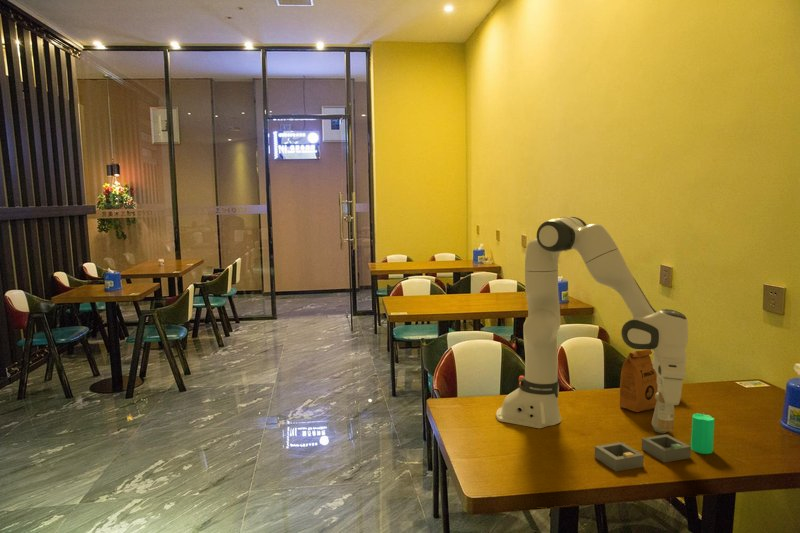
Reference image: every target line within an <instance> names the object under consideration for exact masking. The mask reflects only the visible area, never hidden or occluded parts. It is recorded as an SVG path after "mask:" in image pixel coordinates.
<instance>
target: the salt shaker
mask: <svg viewBox="0 0 800 533" xmlns="http://www.w3.org/2000/svg"><path fill="white" fill-rule="evenodd" d="M658 395H659V392H657V393H656V394H655V399H656V400H657V403H656V407H655V408H654V411H653V415H652V420H651V425H652V428H653V430H654V432H656V433H658V434H666V433H668V432H669V431H663V430H660V429H659V428H658V427H657V426H658Z"/></svg>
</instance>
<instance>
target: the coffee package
mask: <svg viewBox="0 0 800 533" xmlns="http://www.w3.org/2000/svg"><path fill="white" fill-rule="evenodd" d="M652 353H653V352H652V349H640V350H635V351H632V352H629V354H628V355H627V357H626V358H625V360H624V362H623V364H622V366H621V372H620V380H619V381H620V382H619V408H620V409H625V410H629V411H631V412H635V413H638V412H643V411H650V410H653V409H655V407H656V403H657V400H656V399H655V394H656V393H657V387H658V385H657V374H656V371H655V370H654V369H653V364H652V358H651V356H650V355H652Z"/></svg>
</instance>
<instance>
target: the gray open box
mask: <svg viewBox="0 0 800 533" xmlns="http://www.w3.org/2000/svg"><path fill="white" fill-rule="evenodd" d="M644 457H645V455H644V454H643V453H641V452H640V451H637V449H634V448H633V447H631V446H629V445H627V444H626V443H624V442H622V441H620V442H619V441H618V442H614V443H613V442H612V443H607V444H601V445H594V458H595V459H596V460H598V461H599V462H601V463H602V464H603V465H605V466H607V467H608V468H610V469H612V470H613V471H614V472H621V471H626V470H633V469H637V468H644V460H645V459H644Z"/></svg>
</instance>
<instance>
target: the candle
mask: <svg viewBox="0 0 800 533" xmlns="http://www.w3.org/2000/svg"><path fill="white" fill-rule="evenodd" d="M691 418H692V419H691V437H690V438H691V439H690V446H691V450H692V451H693V452H695V453H699V454H703V455H704V454H705V455H709V454H712V453H714V438H715V437H714V436H715V434H714V433H715V420H716V419H715V418H714V417H712V416H711V415H710V414H705V412H704V411H703V413H700V412H697V413H693V414H692V417H691Z"/></svg>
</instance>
